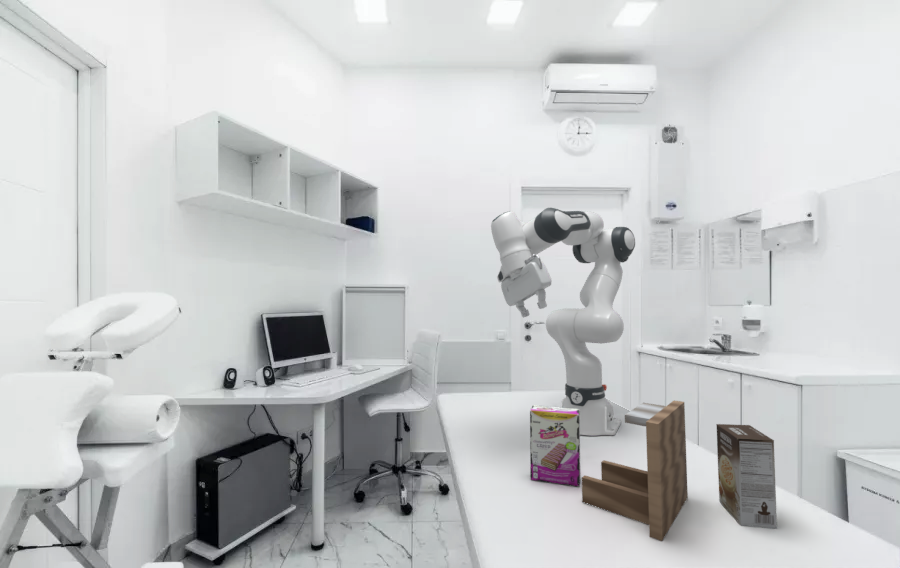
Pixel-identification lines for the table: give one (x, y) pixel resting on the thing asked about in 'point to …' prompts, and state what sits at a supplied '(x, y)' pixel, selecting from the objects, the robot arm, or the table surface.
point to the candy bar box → (555, 445)
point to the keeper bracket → (647, 472)
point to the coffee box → (747, 475)
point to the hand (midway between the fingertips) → (534, 312)
